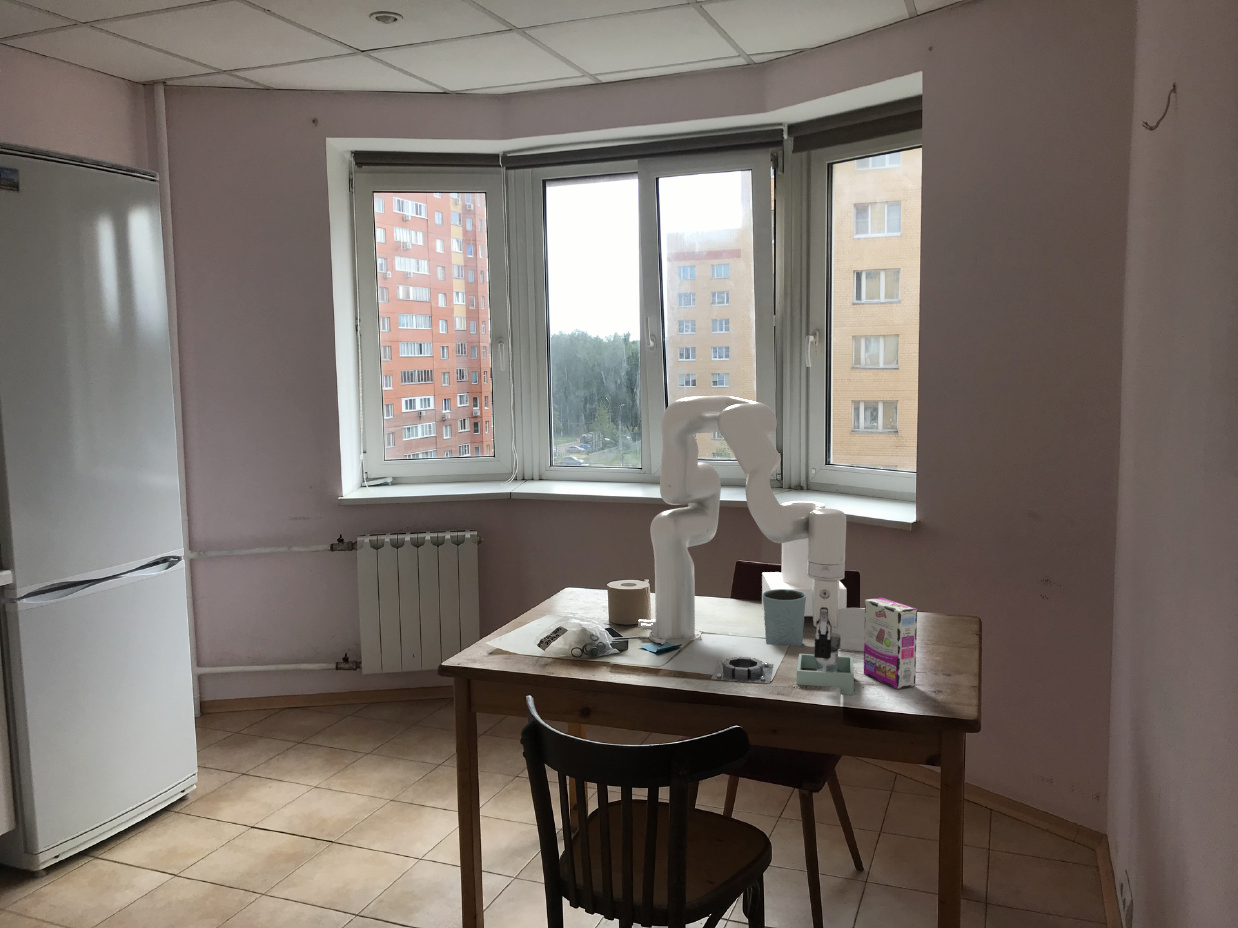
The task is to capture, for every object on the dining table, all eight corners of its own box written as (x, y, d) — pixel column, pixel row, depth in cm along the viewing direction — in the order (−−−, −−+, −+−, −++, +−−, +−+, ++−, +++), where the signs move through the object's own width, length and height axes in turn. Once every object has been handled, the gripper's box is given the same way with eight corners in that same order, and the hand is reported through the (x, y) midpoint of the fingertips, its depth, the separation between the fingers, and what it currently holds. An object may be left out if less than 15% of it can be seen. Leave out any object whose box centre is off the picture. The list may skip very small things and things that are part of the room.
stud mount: (711, 685, 191) (711, 670, 191) (718, 667, 203) (718, 652, 203) (769, 689, 189) (769, 674, 188) (773, 670, 200) (773, 655, 200)
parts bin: (796, 691, 188) (796, 670, 187) (799, 672, 199) (799, 653, 198) (853, 694, 185) (853, 674, 185) (852, 676, 196) (853, 656, 195)
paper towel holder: (770, 628, 232) (771, 510, 229) (762, 608, 251) (762, 499, 247) (846, 628, 231) (847, 509, 228) (831, 608, 250) (833, 498, 247)
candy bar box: (917, 686, 190) (918, 608, 188) (897, 690, 188) (899, 611, 186) (881, 670, 200) (882, 596, 198) (862, 673, 198) (863, 598, 196)
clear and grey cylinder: (831, 685, 188) (832, 640, 187) (809, 679, 192) (810, 635, 191) (844, 679, 192) (845, 635, 191) (822, 673, 196) (823, 630, 194)
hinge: (819, 646, 217) (822, 603, 219) (823, 647, 221) (826, 605, 223) (892, 654, 210) (895, 610, 212) (895, 655, 214) (898, 612, 216)
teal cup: (803, 637, 224) (803, 589, 222) (807, 650, 214) (808, 599, 212) (761, 636, 225) (761, 588, 223) (763, 649, 215) (763, 599, 213)
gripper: (844, 581, 180) (841, 665, 182) (844, 560, 197) (841, 638, 199) (805, 578, 182) (802, 662, 184) (808, 558, 198) (806, 635, 201)
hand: (822, 649), depth 192 cm, fingers open, 9 cm apart
